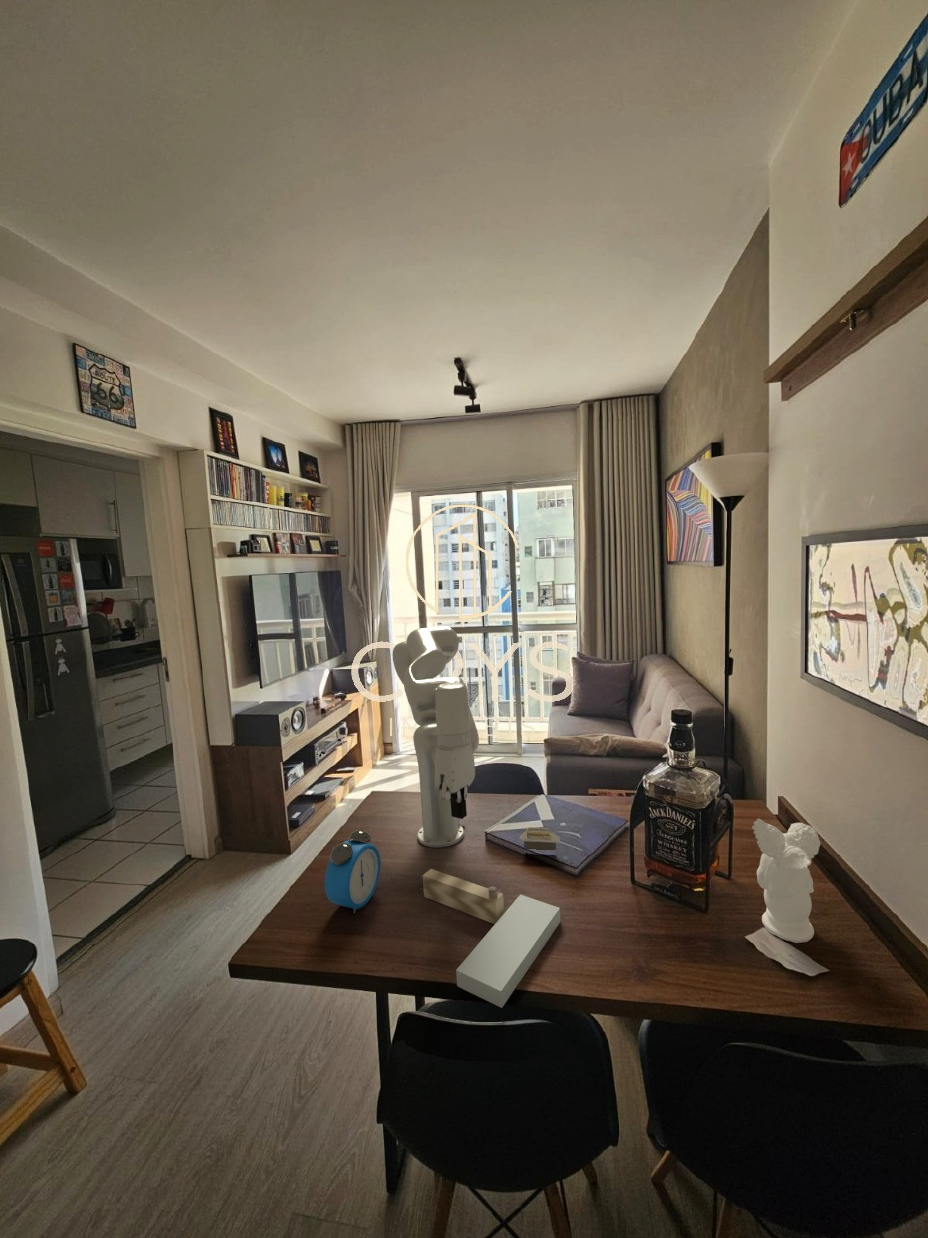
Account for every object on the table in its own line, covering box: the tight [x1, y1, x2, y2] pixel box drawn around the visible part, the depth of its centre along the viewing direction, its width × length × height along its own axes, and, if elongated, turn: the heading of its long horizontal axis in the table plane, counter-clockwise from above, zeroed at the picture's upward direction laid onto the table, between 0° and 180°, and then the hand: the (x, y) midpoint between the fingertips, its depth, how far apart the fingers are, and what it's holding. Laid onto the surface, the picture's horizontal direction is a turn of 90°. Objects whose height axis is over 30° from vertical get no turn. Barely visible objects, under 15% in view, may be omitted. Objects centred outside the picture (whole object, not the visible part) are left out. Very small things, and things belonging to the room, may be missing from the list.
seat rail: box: [455, 894, 561, 1009], centre depth 98 cm, size 24×9×3 cm, turn 146°
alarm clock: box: [324, 828, 381, 914], centre depth 115 cm, size 13×6×15 cm, turn 156°
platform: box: [519, 827, 561, 851], centre depth 131 cm, size 12×18×7 cm, turn 78°
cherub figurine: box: [752, 817, 821, 944], centre depth 97 cm, size 12×12×22 cm
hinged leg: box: [418, 868, 505, 925], centre depth 112 cm, size 20×3×6 cm, turn 56°
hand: (459, 816), depth 119 cm, fingers closed
